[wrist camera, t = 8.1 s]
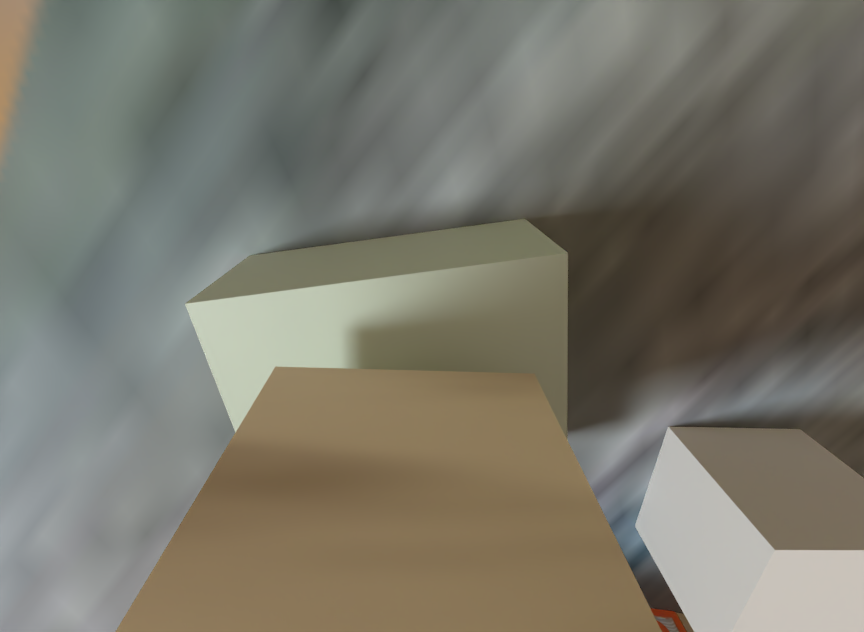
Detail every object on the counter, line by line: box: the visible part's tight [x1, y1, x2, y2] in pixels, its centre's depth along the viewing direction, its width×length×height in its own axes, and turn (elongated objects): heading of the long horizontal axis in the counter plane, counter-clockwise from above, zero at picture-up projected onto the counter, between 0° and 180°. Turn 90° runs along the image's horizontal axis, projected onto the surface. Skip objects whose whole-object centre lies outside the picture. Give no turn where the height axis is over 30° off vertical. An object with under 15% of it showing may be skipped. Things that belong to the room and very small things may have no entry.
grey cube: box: [635, 427, 864, 632], centre depth 14 cm, size 5×5×5 cm
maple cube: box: [116, 367, 662, 632], centre depth 7 cm, size 5×5×5 cm
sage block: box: [185, 219, 568, 439], centre depth 12 cm, size 8×8×4 cm
